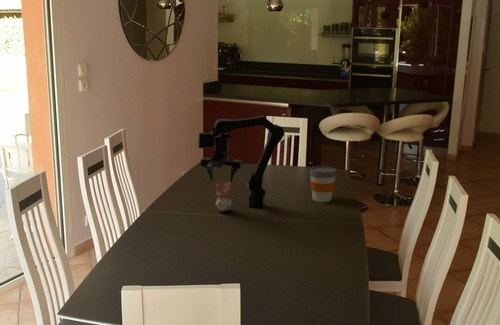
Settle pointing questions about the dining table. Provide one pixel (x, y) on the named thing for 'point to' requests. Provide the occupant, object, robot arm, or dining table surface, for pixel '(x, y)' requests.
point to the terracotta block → (223, 189)
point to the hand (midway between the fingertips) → (221, 181)
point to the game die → (223, 203)
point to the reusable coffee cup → (322, 183)
